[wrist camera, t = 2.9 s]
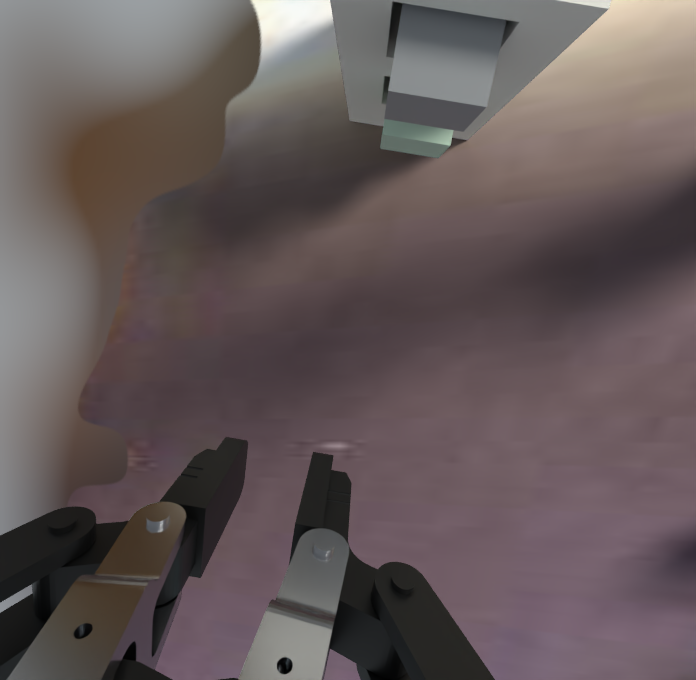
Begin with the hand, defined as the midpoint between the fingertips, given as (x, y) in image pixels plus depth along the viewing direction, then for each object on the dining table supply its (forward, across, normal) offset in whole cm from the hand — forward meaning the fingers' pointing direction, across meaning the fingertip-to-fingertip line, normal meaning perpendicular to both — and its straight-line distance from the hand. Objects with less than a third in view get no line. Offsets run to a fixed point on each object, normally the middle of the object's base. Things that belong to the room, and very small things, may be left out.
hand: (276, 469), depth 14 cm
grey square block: (+16, -4, -18) cm, 24 cm away
